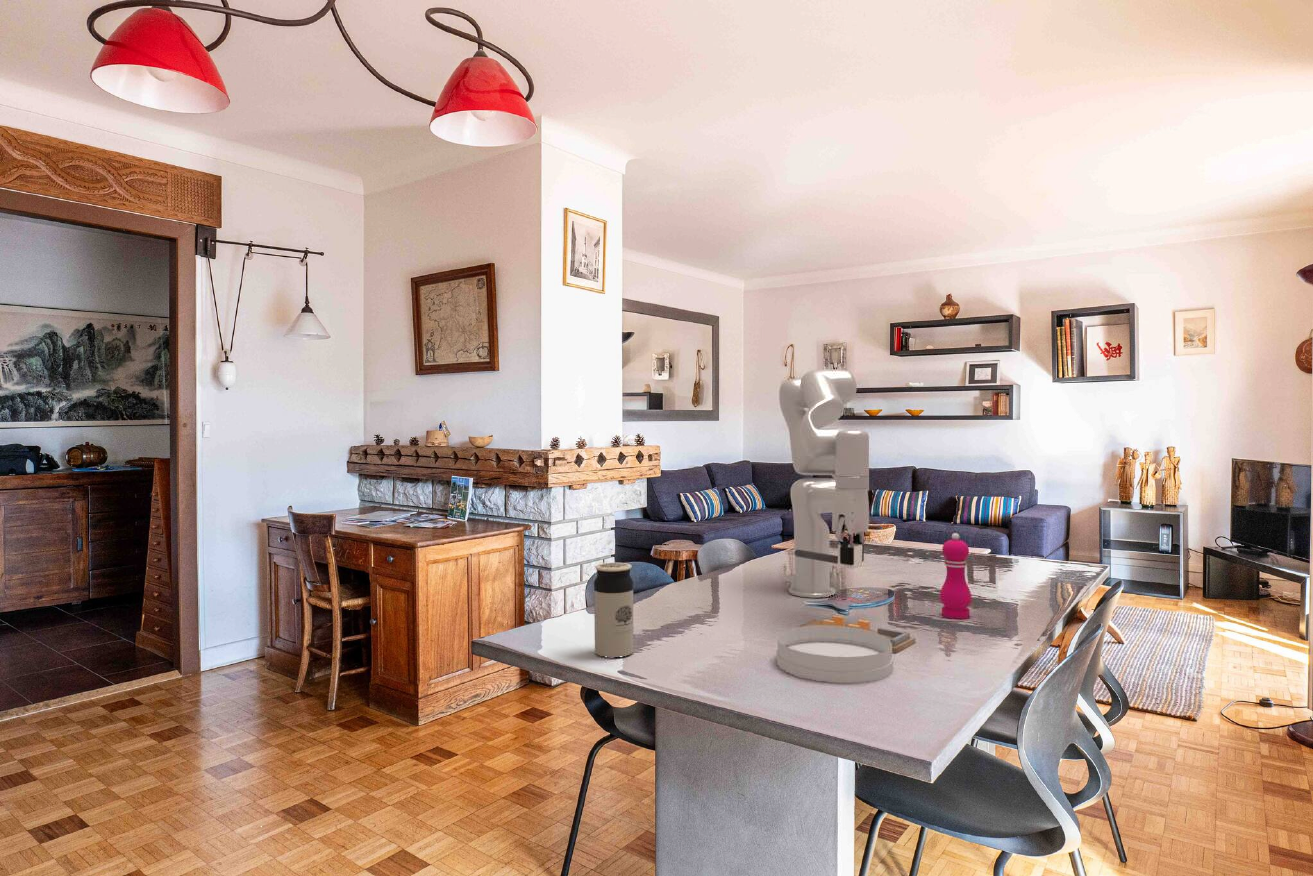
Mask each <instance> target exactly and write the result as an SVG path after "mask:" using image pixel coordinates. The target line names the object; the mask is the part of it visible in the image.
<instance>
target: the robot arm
mask: <svg viewBox="0 0 1313 876" xmlns="http://www.w3.org/2000/svg"><path fill="white" fill-rule="evenodd" d="M856 394H857V381H856V377H855V375H854V374H853V373H852V372H851V371H850V370H848V369H813V370H809V371H807V372H806V373H804V374H803V376H802V377H796V378H790V379H787V380H785V381H783V382H782V383H781V385H780V388H779V392H778V395H779V396H778V397H779V398H778V399H779V407H780V411H781V413H782V416H783V418H784V421H785V423H786V425H787V429H788V432H789V433H788V434H789V442H790V443H789V444H790V452H791V461H792V466H793V469H794V471H795V472H796V473H797V474H799V475H803V476H831V477H807V478H806V477H805V478H801V479H798V480H796V481H794V483H792V485H791V487H790V500H791V505H792V508H791V509H792V514H793V538H794V539H793V544H794V545H793V547H794V548H793V549H794V550H793V551H794V552H795V550H797V549H799V550H805V551H811V552H817V553H823V554H829V555H831V554H830V551H831V550H830V549H831V547H830V544H831V542H830V529H829V525H828V524H827V522H826V521H825V520H824V519H823V518H822V516H821V514H827V513H829V514H830V513H832V515H831V517H832V518H831V523H832V524H831V531H832V532H833V533H835V534H834V536H835V538H836V539H837V540H838V545H839V546H840V563H841V564H846V565H854V548H853V547H852V544H860V545H862V563H863V562H864V561H865V557H864V555H865V554H864V551H865V550H864V549H865V545H864V544H865V540H866V539H865V537H866V534H867V532H868V529H869V527H870V526H869V525H870V506H869V505H870V501H869V494H868V493H869V492H868V491H869V490H870V435H869V433H868V432H867V431H866V430H863V429H862V430H861V429H858V428H855V427H854V428H849V427H848V428H847V427H843V428H841V427H840V428H839V427H838V428H836V427H835V428H832V427H831V428H830V427H829V428H826V426H829V425H831V424H833V423H835V422H836V421H838V420H839V419H840V418H841V417H842V415H843V413H844V410H845V408H844V405H847V404H848V403H850V402H851V401H853V399H854V398H855V396H856ZM806 409H808V410H806ZM824 427H825V428H824ZM794 552H793V555H794V557H793V558H794V559H793V560H794V564H793V565H794V570H793V571H794V574H792V575H791V574H787V573H786V574H784V575H783V579H782V582H783V583H790V586H789V587H788V593H789V594H790V595H792V596H796V597H800V598H815V599H816V598H817V599H818V598H819V599H820V598H821V597H822V598H828V597H829V596H830V597H832V596H831V595H833V596H835V595H836V588H835V587H832V586H831V584H830V583H831V581H830V580H831V579H830V578H831V576H830V573H831V572H830V571H831V567H830V566H831V565H830V564H831V563H830V562H824V561H819V560H813V559H807V558H802V557H797V556H795V554H794ZM834 594H835V595H834ZM830 597H829V598H830ZM822 598H821V599H822Z"/></svg>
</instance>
